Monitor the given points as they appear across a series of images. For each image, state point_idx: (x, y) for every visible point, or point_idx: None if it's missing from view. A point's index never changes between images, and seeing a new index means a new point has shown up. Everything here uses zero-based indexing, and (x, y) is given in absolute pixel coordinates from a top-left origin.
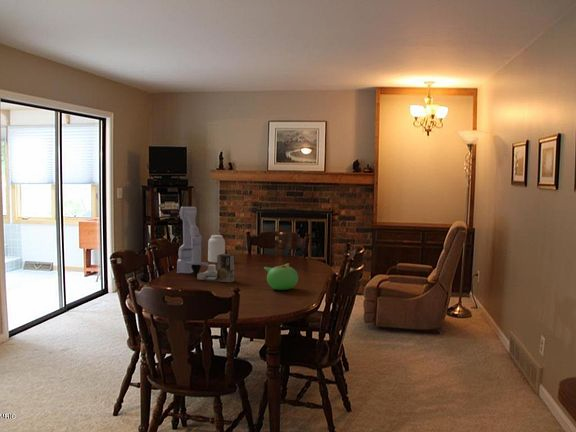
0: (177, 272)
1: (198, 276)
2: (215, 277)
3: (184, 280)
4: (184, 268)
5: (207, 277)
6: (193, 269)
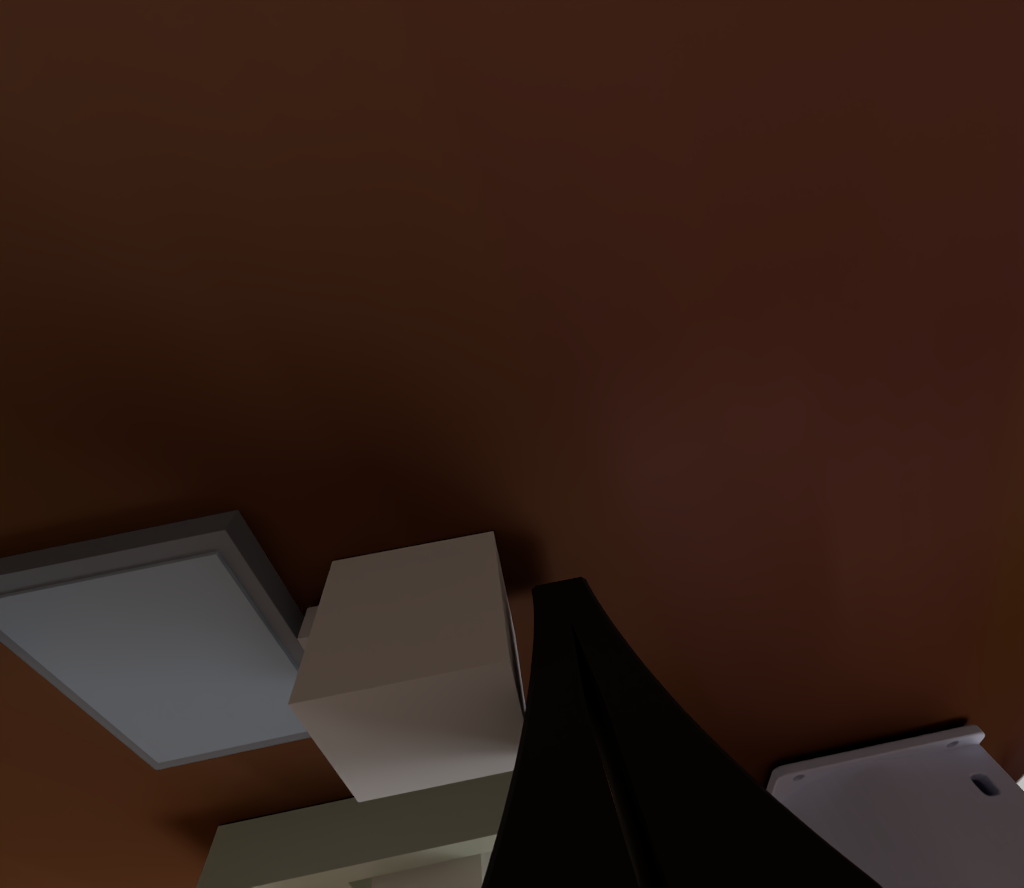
0: (972, 733)
1: (464, 594)
2: (160, 743)
3: (774, 263)
4: (927, 840)
5: None
6: (712, 796)
